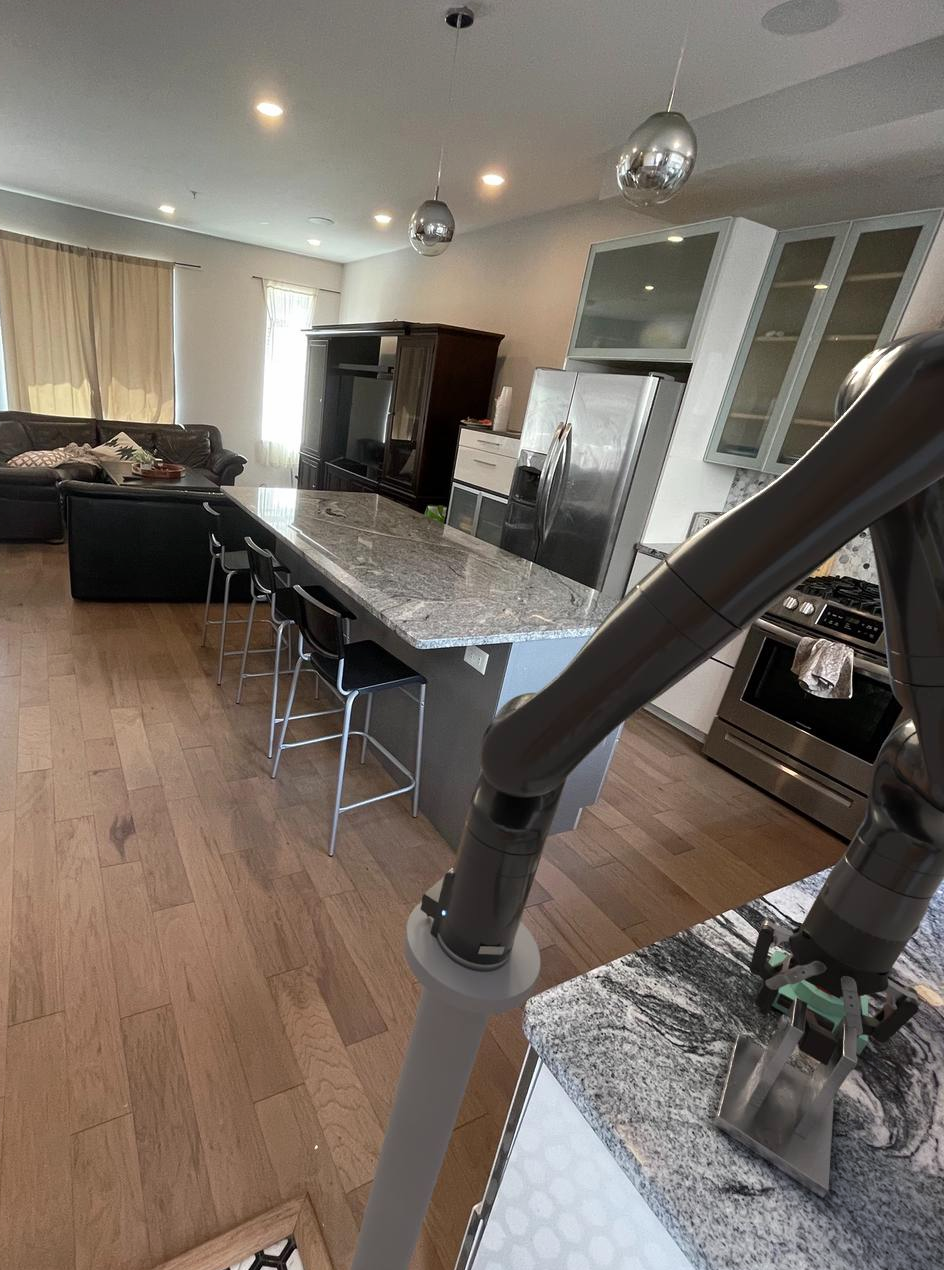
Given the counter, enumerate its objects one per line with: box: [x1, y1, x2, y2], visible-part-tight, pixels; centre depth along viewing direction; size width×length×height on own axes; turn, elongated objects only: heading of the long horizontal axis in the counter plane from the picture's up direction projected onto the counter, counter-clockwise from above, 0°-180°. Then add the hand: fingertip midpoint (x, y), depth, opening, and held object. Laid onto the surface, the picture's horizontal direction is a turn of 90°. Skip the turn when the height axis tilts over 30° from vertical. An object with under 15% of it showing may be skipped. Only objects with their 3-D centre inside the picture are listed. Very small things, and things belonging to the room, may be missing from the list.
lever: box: [777, 993, 837, 1066], centre depth 62 cm, size 12×5×2 cm, turn 142°
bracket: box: [713, 997, 859, 1199], centre depth 60 cm, size 12×9×12 cm
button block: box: [768, 949, 869, 1056], centre depth 75 cm, size 10×8×4 cm
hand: (796, 1028), depth 68 cm, fingers open, 6 cm apart
